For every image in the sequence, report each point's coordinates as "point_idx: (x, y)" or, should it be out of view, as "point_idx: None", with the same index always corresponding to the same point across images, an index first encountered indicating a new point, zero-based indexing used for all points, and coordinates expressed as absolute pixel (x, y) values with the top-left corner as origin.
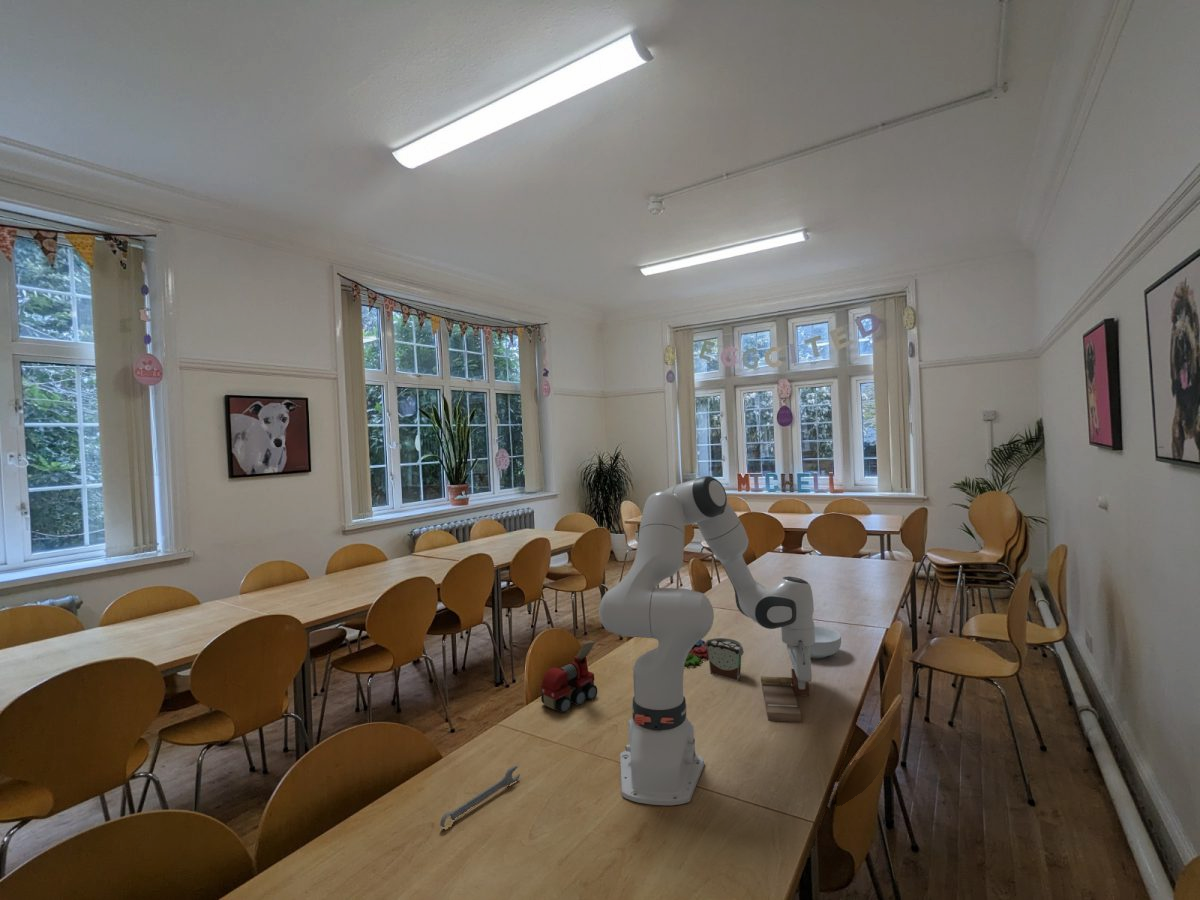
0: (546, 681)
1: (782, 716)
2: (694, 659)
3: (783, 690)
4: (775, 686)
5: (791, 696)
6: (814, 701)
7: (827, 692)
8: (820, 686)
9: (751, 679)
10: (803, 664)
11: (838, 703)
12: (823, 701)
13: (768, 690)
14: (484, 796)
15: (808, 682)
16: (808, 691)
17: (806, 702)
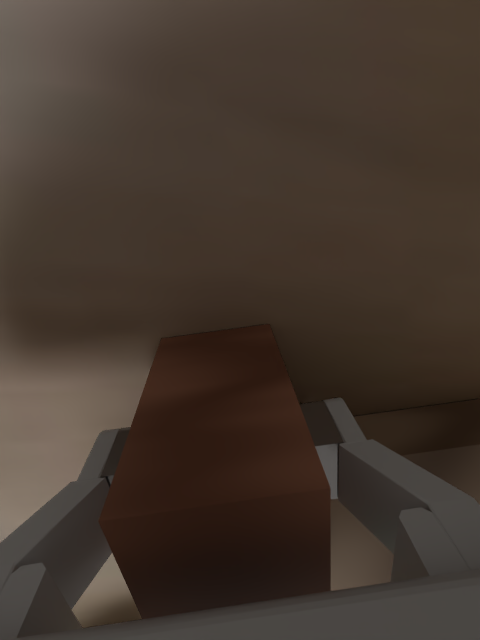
0: None
1: None
2: None
3: (347, 517)
4: None
5: (453, 470)
6: (368, 285)
7: (144, 150)
8: (13, 217)
9: (107, 613)
10: (21, 637)
11: (401, 43)
12: (363, 208)
13: (356, 581)
14: None
15: (294, 395)
16: (276, 345)
17: (389, 342)
